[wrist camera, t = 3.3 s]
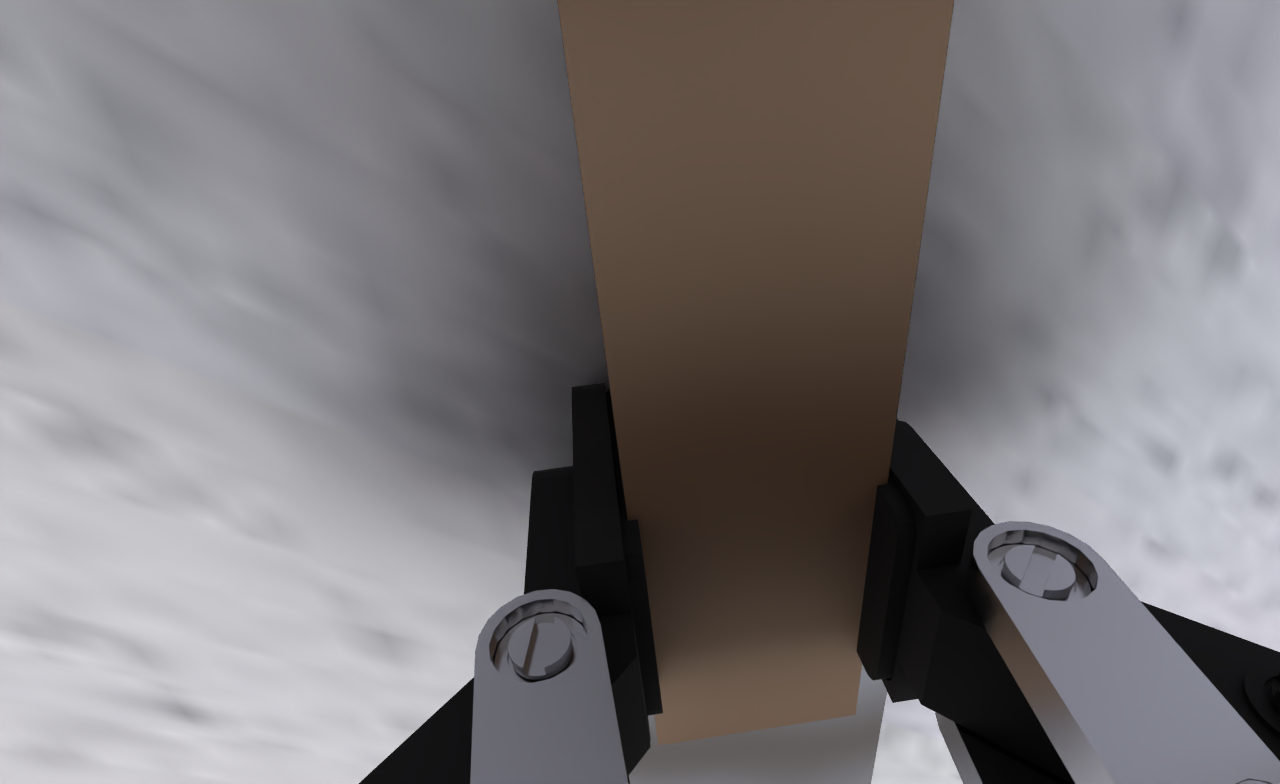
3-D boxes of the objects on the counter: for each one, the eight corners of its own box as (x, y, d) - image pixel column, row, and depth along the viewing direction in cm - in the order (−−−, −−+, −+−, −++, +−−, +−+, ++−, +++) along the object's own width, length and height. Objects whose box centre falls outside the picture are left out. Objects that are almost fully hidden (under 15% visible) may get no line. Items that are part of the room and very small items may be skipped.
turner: (378, -28, 7) (248, -59, 4) (973, -89, 8) (1244, -160, 5) (592, 816, 17) (598, 988, 14) (850, 774, 17) (910, 935, 14)
